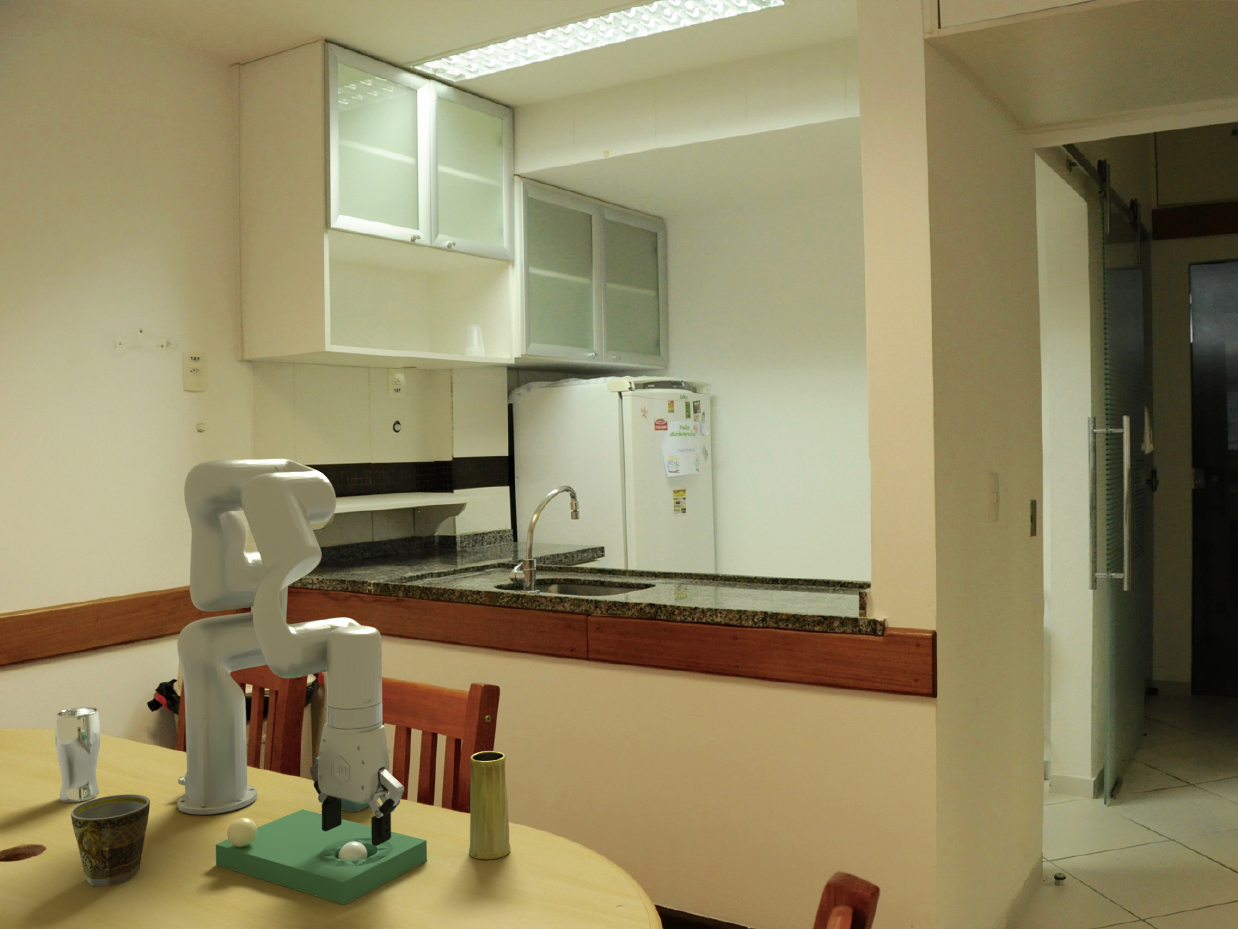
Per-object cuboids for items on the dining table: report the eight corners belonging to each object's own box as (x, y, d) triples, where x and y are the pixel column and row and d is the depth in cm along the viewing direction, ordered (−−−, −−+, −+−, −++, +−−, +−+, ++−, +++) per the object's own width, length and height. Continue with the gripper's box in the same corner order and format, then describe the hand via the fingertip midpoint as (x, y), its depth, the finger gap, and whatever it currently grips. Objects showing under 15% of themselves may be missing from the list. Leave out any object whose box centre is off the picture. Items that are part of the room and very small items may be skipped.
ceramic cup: (97, 861, 148) (95, 794, 147) (164, 861, 147) (162, 794, 147) (44, 902, 135) (42, 828, 134) (117, 902, 134) (115, 827, 134)
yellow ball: (221, 848, 144) (220, 820, 144) (244, 838, 148) (244, 811, 148) (240, 853, 142) (239, 825, 142) (263, 844, 146) (262, 816, 145)
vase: (477, 863, 145) (475, 765, 144) (463, 848, 150) (461, 754, 150) (516, 855, 148) (514, 758, 147) (501, 841, 153) (499, 747, 153)
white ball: (342, 881, 141) (328, 856, 142) (362, 871, 144) (349, 847, 146) (356, 866, 139) (342, 841, 141) (377, 856, 143) (363, 832, 144)
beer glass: (110, 794, 176) (108, 709, 176) (70, 807, 171) (68, 719, 170) (87, 787, 180) (85, 704, 180) (48, 799, 174) (46, 713, 174)
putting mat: (216, 865, 146) (215, 844, 146) (302, 828, 159) (302, 809, 159) (344, 905, 132) (343, 882, 132) (426, 861, 146) (426, 840, 146)
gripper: (291, 712, 143) (293, 831, 143) (380, 731, 134) (382, 858, 135) (331, 700, 149) (333, 814, 150) (419, 717, 140) (420, 838, 141)
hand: (356, 835), depth 142 cm, fingers open, 9 cm apart
